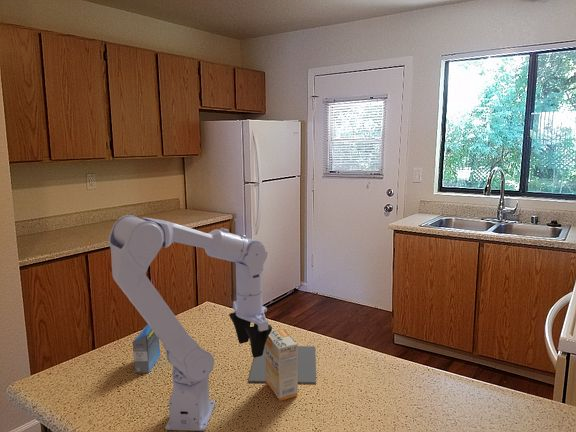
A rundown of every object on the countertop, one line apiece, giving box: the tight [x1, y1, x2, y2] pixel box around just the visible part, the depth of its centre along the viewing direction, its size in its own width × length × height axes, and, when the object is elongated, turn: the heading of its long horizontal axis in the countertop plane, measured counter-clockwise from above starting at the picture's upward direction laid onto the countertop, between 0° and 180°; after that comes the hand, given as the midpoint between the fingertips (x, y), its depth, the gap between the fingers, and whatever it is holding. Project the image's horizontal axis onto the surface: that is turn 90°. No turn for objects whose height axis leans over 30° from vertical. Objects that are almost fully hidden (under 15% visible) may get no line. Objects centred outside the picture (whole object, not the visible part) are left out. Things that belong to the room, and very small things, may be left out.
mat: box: [248, 345, 317, 385], centre depth 110 cm, size 18×16×1 cm
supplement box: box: [265, 327, 299, 402], centre depth 97 cm, size 8×5×13 cm, turn 25°
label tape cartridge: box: [132, 324, 161, 374], centre depth 110 cm, size 9×4×12 cm, turn 179°
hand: (250, 349), depth 98 cm, fingers open, 7 cm apart
